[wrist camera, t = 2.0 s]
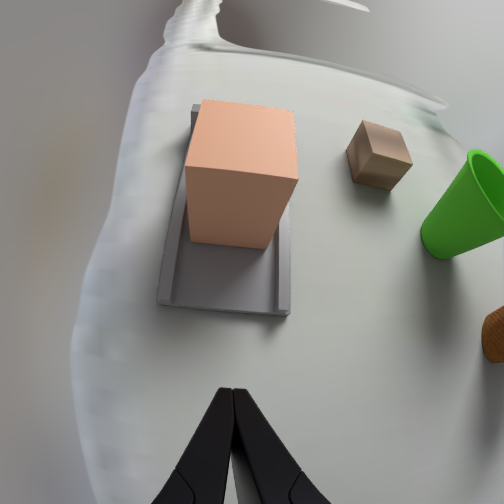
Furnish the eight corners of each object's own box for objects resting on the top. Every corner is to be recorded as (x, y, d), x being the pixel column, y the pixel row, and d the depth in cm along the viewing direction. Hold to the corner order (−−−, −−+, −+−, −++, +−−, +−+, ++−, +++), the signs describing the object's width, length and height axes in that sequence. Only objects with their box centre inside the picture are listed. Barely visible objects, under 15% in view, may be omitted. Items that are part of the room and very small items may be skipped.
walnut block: (390, 191, 30) (413, 164, 25) (352, 182, 29) (373, 152, 25) (381, 159, 32) (400, 132, 27) (345, 150, 31) (362, 119, 27)
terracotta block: (266, 249, 23) (298, 179, 15) (190, 241, 22) (184, 165, 14) (267, 188, 25) (293, 111, 17) (200, 181, 25) (202, 99, 17)
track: (287, 315, 22) (302, 304, 19) (157, 304, 21) (148, 289, 17) (284, 133, 30) (292, 108, 27) (195, 123, 29) (195, 96, 26)
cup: (460, 288, 26) (532, 247, 16) (403, 257, 26) (477, 199, 16) (460, 225, 30) (515, 178, 20) (407, 193, 30) (461, 132, 20)
